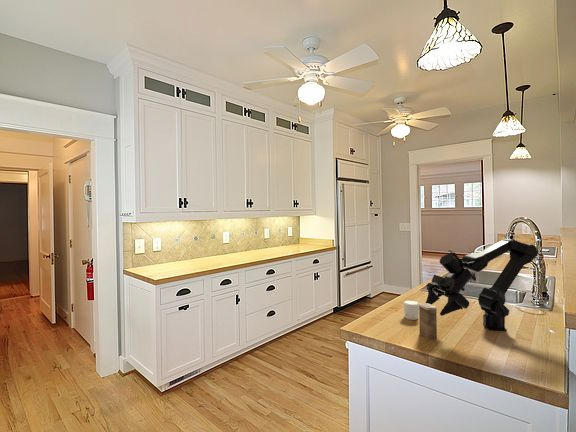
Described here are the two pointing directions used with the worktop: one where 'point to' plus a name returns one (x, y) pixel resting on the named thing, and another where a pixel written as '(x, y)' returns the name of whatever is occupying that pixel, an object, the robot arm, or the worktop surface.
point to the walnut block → (428, 320)
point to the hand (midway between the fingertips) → (432, 310)
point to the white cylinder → (411, 309)
